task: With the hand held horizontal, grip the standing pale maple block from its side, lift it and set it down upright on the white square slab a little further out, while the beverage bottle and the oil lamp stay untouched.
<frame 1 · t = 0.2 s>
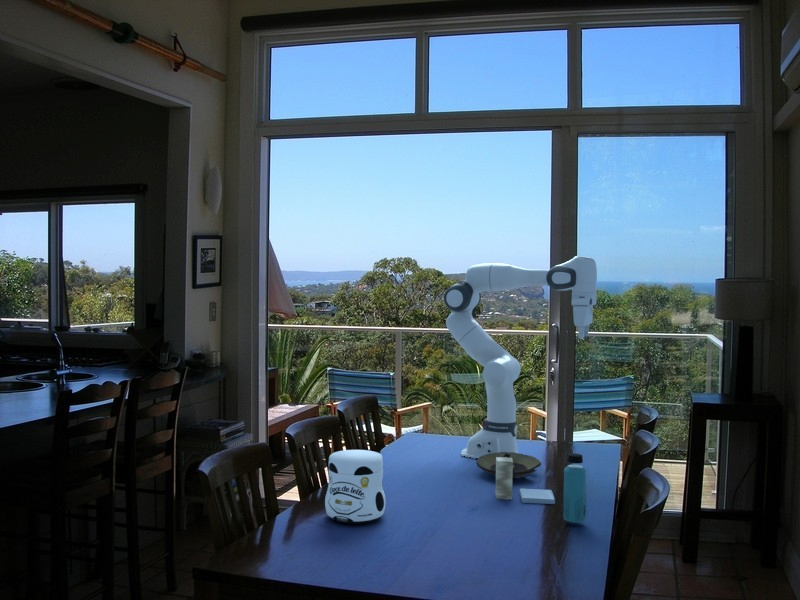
hand: (583, 337, 267), 48 cm above the table, tool pointing down, fingers open, 8 cm apart
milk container: (355, 518, 207), on the table
beverage bottle: (574, 524, 205), on the table
white square slab: (536, 498, 228), on the table
maple block: (503, 496, 229), on the table
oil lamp: (505, 476, 254), on the table
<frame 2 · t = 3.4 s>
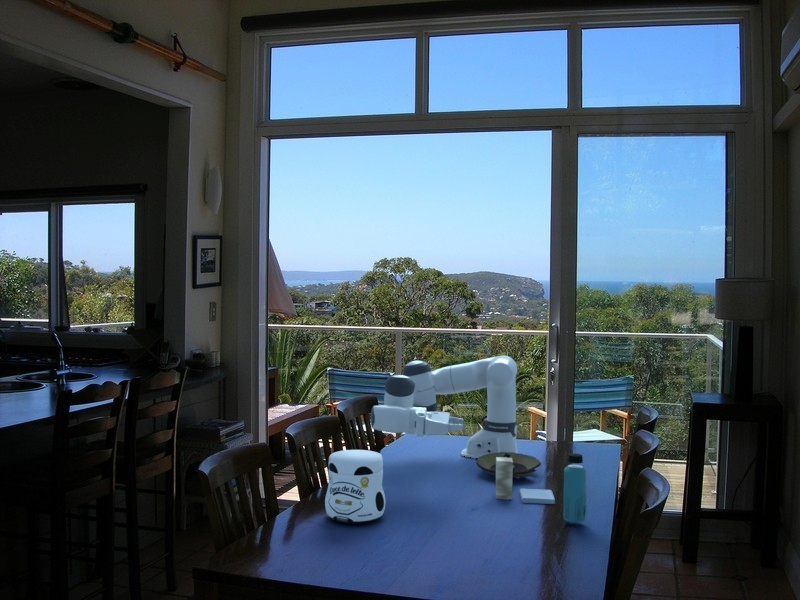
hand: (463, 424, 230), 23 cm above the table, tool horizontal, fingers open, 8 cm apart
nothing on the table moved.
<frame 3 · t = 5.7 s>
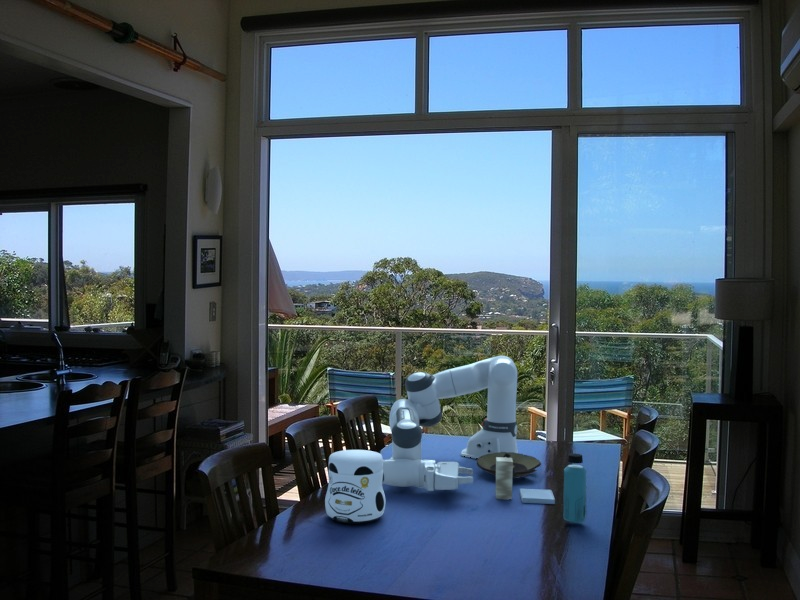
hand: (473, 475, 230), 6 cm above the table, tool horizontal, fingers open, 8 cm apart
nothing on the table moved.
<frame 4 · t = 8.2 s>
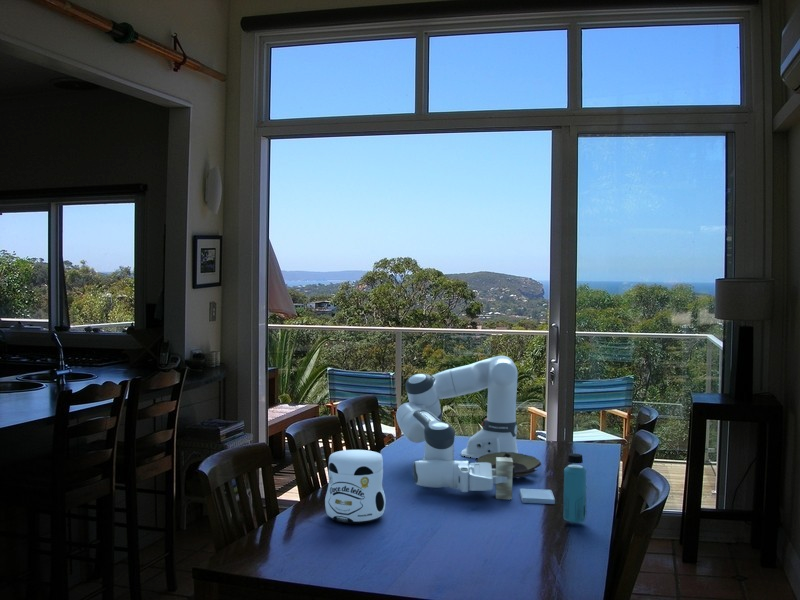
hand: (506, 476, 229), 7 cm above the table, tool horizontal, fingers closed on maple block, 5 cm apart
maple block: (503, 496, 229), on the table, touching gripper
everything else where it was.
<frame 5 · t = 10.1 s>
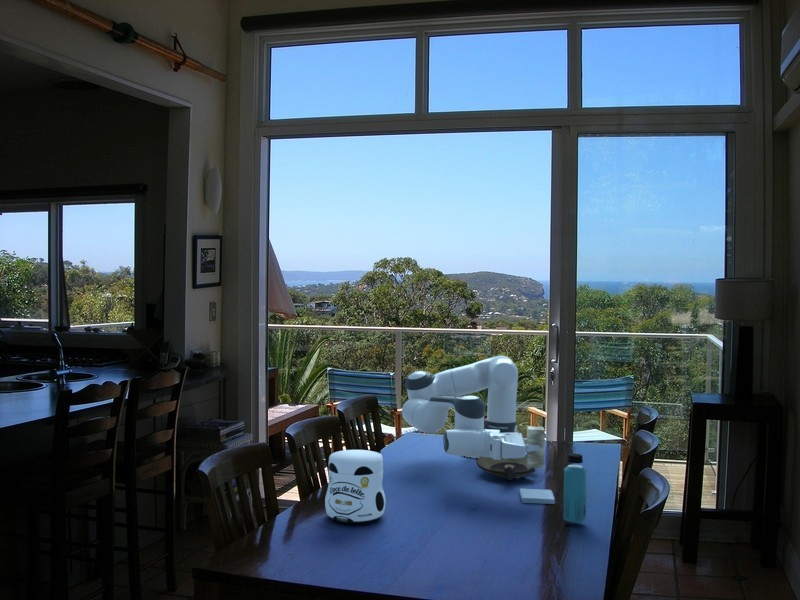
hand: (538, 445, 227), 17 cm above the table, tool horizontal, fingers closed on maple block, 5 cm apart
maple block: (535, 465, 228), point 10 cm above the table, touching gripper
everything else where it was.
when the fingers open (9 cm above the table, at t = 12.1 s): maple block stays where it is, resting on white square slab.
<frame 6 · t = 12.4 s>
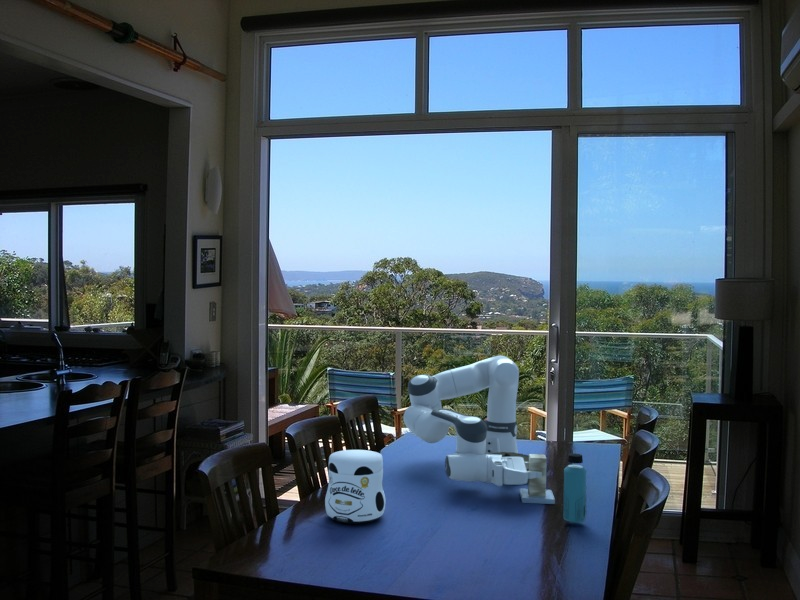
hand: (540, 470, 228), 9 cm above the table, tool horizontal, fingers open, 8 cm apart
maple block: (536, 493, 228), point 1 cm above the table, touching white square slab
everything else where it was.
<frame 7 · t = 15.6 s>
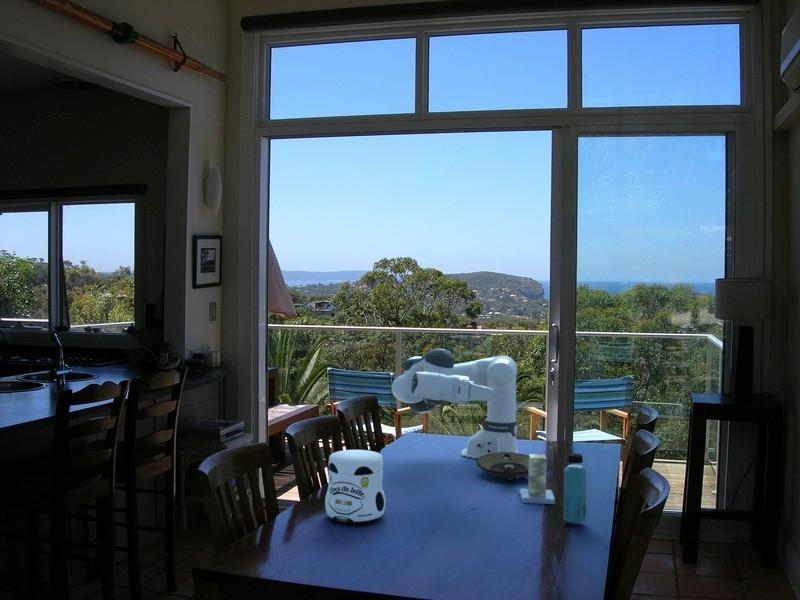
hand: (505, 395, 230), 32 cm above the table, tool horizontal, fingers open, 8 cm apart
nothing on the table moved.
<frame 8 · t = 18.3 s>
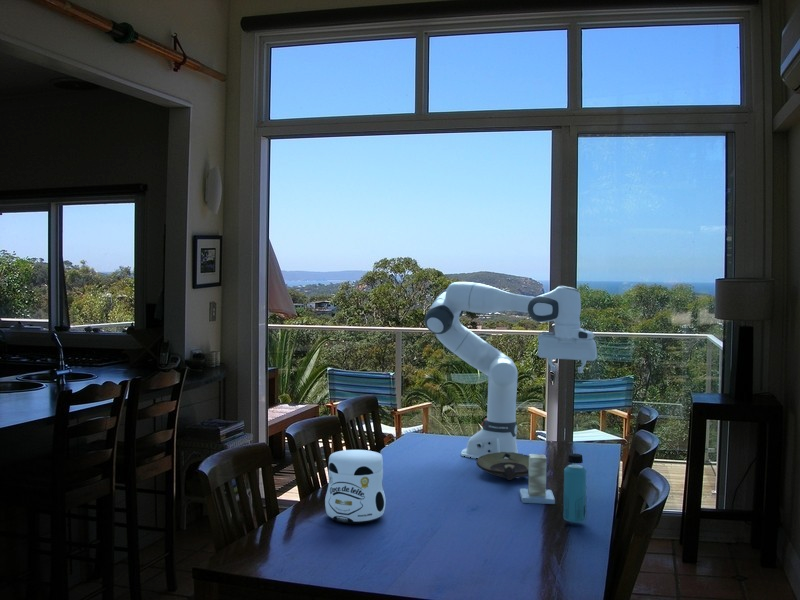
hand: (566, 372, 252), 37 cm above the table, tool pointing down, fingers open, 8 cm apart
nothing on the table moved.
at the end: maple block inside the target area on the white square slab (0.1 cm from its centre), point 1.5 cm above the white square slab's base; maple block tilted 0°; the gripper is holding nothing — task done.
